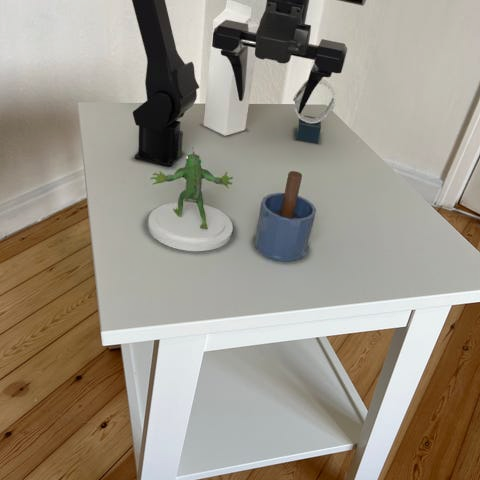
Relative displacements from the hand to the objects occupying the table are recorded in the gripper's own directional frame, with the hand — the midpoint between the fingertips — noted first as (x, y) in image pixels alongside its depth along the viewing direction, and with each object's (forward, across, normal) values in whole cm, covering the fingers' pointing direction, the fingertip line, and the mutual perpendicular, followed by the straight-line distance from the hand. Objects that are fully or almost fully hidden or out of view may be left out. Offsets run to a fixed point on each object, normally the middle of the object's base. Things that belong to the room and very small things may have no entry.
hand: (270, 106), depth 85 cm
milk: (+13, -11, +21) cm, 27 cm away
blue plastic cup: (+13, +7, -18) cm, 23 cm away
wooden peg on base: (+12, +7, -17) cm, 22 cm away
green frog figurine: (+13, -6, -18) cm, 23 cm away
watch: (+13, +5, +26) cm, 30 cm away
